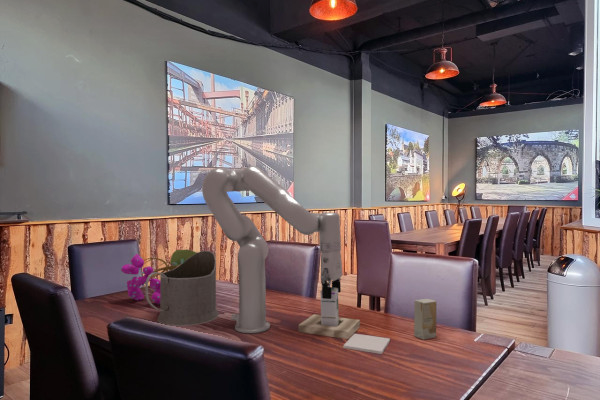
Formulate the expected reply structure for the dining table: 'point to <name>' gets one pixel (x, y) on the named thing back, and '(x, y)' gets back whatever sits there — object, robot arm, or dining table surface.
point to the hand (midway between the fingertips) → (331, 295)
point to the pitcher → (188, 292)
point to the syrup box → (330, 309)
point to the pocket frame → (330, 327)
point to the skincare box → (425, 319)
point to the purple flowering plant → (138, 262)
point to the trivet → (367, 343)
